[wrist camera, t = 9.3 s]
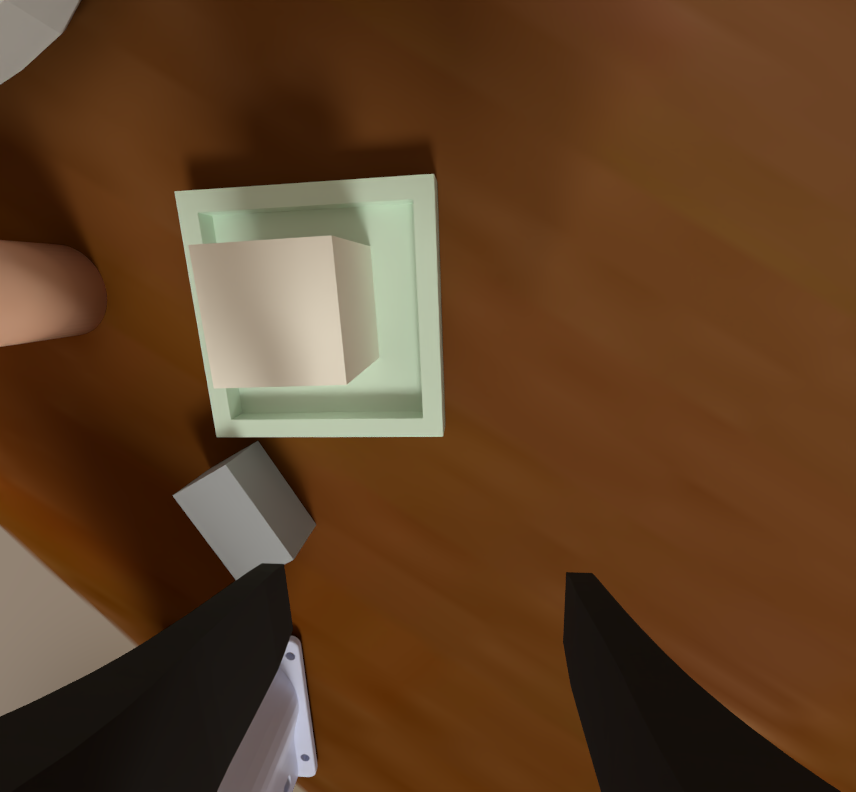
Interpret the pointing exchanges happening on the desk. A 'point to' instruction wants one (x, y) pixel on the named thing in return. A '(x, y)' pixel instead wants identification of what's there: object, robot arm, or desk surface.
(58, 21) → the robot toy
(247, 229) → the tray
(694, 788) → the robot arm
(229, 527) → the slate block
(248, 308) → the cream block
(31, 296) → the pink rounded capsule
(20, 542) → the desk surface
